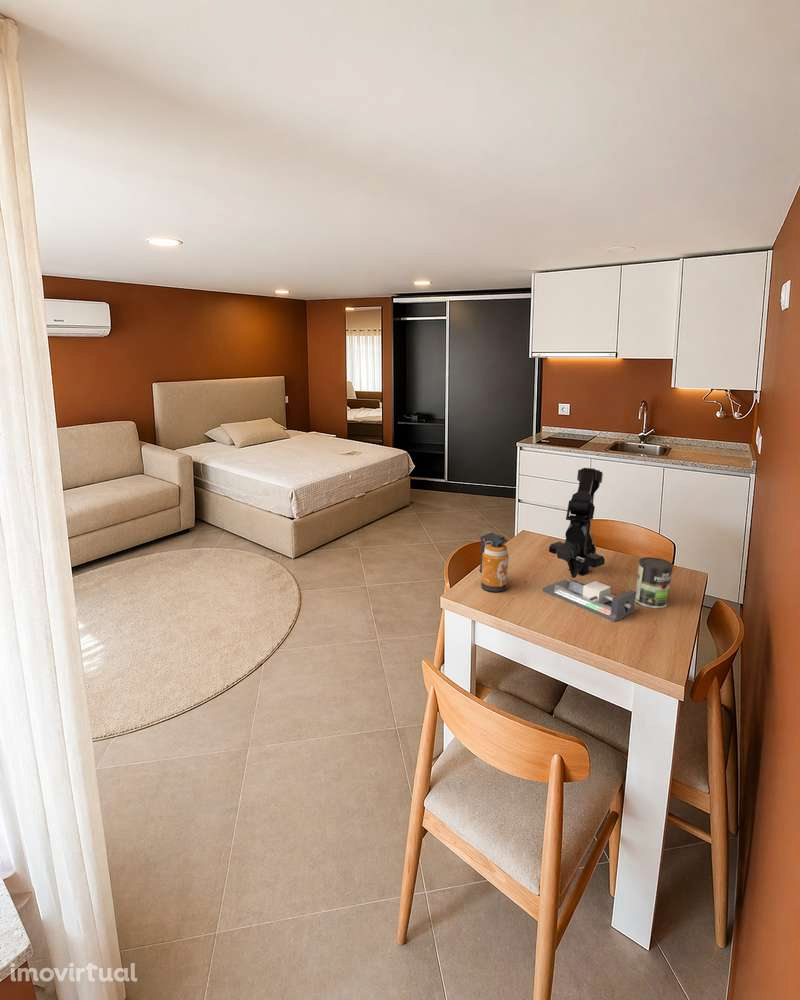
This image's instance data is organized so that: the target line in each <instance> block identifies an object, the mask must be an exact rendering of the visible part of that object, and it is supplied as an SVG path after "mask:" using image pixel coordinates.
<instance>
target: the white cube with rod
mask: <svg viewBox="0 0 800 1000" xmlns="http://www.w3.org/2000/svg"><path fill="white" fill-rule="evenodd" d="M611 590H612V586H609V585H607V584H604V583H601V582H599V581H596V580H594V581H592V582H589V583H587V584H585V585H584V587H583V596H586V597H588V598H590V600H595V601H598V602H600V603H603V604H604V603H606V602H608V601H612V597H610V594H611ZM625 607H627V608H630V607H631V605H630V604H627V603H625Z"/></svg>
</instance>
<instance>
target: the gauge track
mask: <svg viewBox="0 0 800 1000" xmlns="http://www.w3.org/2000/svg"><path fill="white" fill-rule="evenodd" d="M584 585H586V584H585V583H582V582H579V581H577V580H576V579H575V580H574V579H573V578H572V579H571V578H570V579H569V581H568V580H566V579H562V580H560V581H556V582H555V583H552V584H549V585H547V586H543V587H542V592H544V593H546V594H548V595H551V596H554V597H555V598H558V599H560V600H562V601H565V602H566V603H569V604H571V605H574V606H576V607H578V608H581V609H583V610H586V611H588V612H589V613H593V614H595V615H598V616H600V617H602V618H604V619H606V620H609V621H611V622H617V621H619V620H620V619H623V618H625V617H626V616H629V615H631V614H633V613H635V612H636V609H637V607H635V605H636V604H635V603H636V601H635V598H636V590H632V589H628V590H627V591H625V592H622V593H620V594H618V595H613V594H611V593H610V597H612V601H608V602H606V603H604V604H603V603H600V602H598V601H595V600H590V598H588V597H586V596H583V587H584ZM625 603H627V604H630V605H631V607H630V608H627V607H625Z"/></svg>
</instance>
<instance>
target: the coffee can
mask: <svg viewBox="0 0 800 1000" xmlns="http://www.w3.org/2000/svg"><path fill="white" fill-rule="evenodd" d="M673 568H674V564H673V563H672V562H671V561H668V560H666V559H664V558H663V559H662V558H659V557H648V556H646V557H641V558H640V559H639V560H638V568H637V569H638V570H637V579H636V587H635V592H636V598H635V603H637V604H639V605H640V606H643V607H646V608H651V609H663V608H666V607H667V606H668V599H669V593H670V586H671V579H672V572H673Z"/></svg>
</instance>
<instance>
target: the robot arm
mask: <svg viewBox="0 0 800 1000" xmlns="http://www.w3.org/2000/svg"><path fill="white" fill-rule="evenodd" d="M603 475H604V474H603V471H601V470H599V469H596V468H592V467H582V468H581V469H578V470H577V476H576V477H577V478H576V480H577V481H578V487H577V491H576V492H575V493H574V494H573V493H572V496H571V499H570V500H569V501H568V503H567V504H568V505H567V509H566V510H567V511H566V516H565V517H566V518H565V520H566V521H570V522H569V525H568V528H567V529H566V531H565V541H564V542H562V541H557V542H553V543H551V544H549V547H548V553H552V554H553V555H556V556H557V559H561V560H563V561H565V562H566V563H567V565H568V571H569V572H570V575H571V578H572V579H575V578H576V577H577V576H578V575H579V576H585V575H588V574H590V573H593V570H592V569H590V568H593V569H595V568H598V567H601V566H604V565H605V562H606V559H605V556H603V555H601V554H598V553H597V547H595V546H596V545H595V543H594V537H593V535H592V534H591V533H592V532H591V525H592V520H594V514H595V510H596V509H595V503H594V501H595V499H594V498H595V493H596V492H597V490H598V489H599V488H600V486H601V484H602V483H603V478H604V477H603Z"/></svg>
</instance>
